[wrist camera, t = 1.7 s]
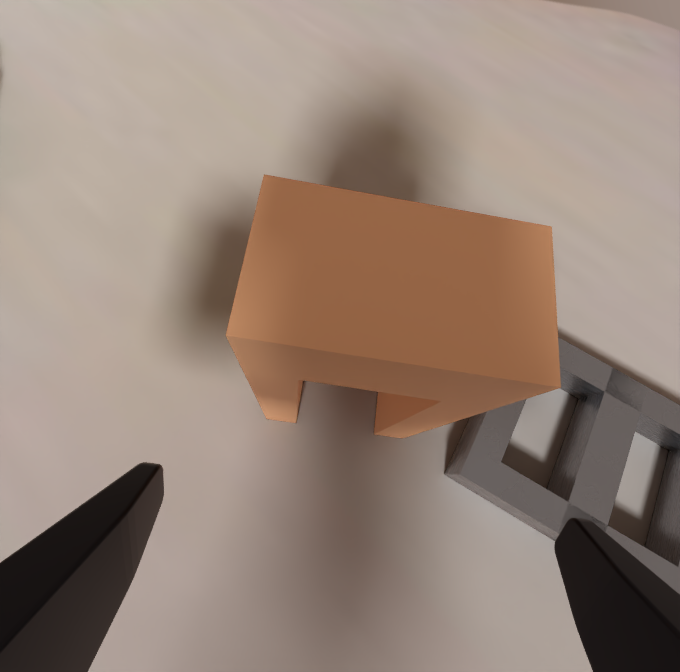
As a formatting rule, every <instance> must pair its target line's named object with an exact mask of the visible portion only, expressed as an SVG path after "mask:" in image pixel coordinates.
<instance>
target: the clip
mask: <svg viewBox="0 0 680 672" xmlns="http://www.w3.org/2000/svg"><path fill="white" fill-rule="evenodd" d="M226 337H227V339H228V341H229V343H230V345H231V347H232V349H233V351H234V353H235V355H236V357H237V359H238V362H239V364H240V366H241V368H242V370H243V372H244V374H245V376H246V378H247V380H248V382H249V384H250V386H251V388H252V390H253V392H254V394H255V396H256V398H257V400H258V402H259V404H260V406H261V408H262V410H263V412H264V414H265V416H266V419H271V420H278V421H285V422H292V423H296V421H297V415H298V409H299V403H300V397H301V391H302V385H303V380H304V381H310V382H317V383H324V384H330V385H337V386H344V387H350V388H357V389H363V390H370V391H377V392H378V397H377V407H376V417H375V427H374V434H375V435H382V436H389V437H396V438H405V437H408V436H412V435H415V434H418V433H421V432H424V431H427V430H430V429H433V428H437V427H440V426H443V425H446V424H449V423H452V422H455V421H458V420H461V419H465V418H468V417H471V416H474V415H477V414H480V413H483V412H486V411H490V410H493V409H496V408H499V407H502V406H505V405H508V404H511V403H515V402H518V401H521V400H524V399H527V398H530V397H533V396H536V395H539V394H543V393H546V392H549V391H552V390H555V389H558V388H561V380H560V362H559V345H558V328H557V310H556V293H555V276H554V259H553V241H552V227H551V226H545V225H540V224H534V223H529V222H523V221H518V220H512V219H507V218H501V217H496V216H490V215H485V214H479V213H474V212H468V211H463V210H457V209H452V208H446V207H441V206H435V205H430V204H424V203H419V202H413V201H408V200H402V199H396V198H391V197H385V196H380V195H374V194H369V193H363V192H358V191H352V190H347V189H341V188H336V187H330V186H325V185H319V184H314V183H308V182H303V181H297V180H292V179H286V178H281V177H275V176H270V175H264V177H263V181H262V185H261V189H260V193H259V198H258V202H257V206H256V210H255V214H254V219H253V223H252V227H251V231H250V235H249V239H248V244H247V248H246V252H245V256H244V260H243V265H242V269H241V273H240V277H239V281H238V286H237V290H236V294H235V298H234V302H233V307H232V311H231V315H230V319H229V323H228V327H227V332H226Z"/></svg>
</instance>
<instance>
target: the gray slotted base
mask: <svg viewBox="0 0 680 672" xmlns="http://www.w3.org/2000/svg"><path fill="white" fill-rule="evenodd" d="M558 345H559V362H560V380H561V389H562V390H564V391H566V392H568V393H569V394H571V395H573V396H575V397H576V398H578V402H577V405H576V407H575V410H574V413H573V416H572V419H571V422H570V424H569V427H568V430H567V433H566V436H565V439H564V441H563V444H562V447H561V450H560V453H559V456H558V458H557V461H556V464H555V467H554V470H553V473H552V475H551V478H550V481H549V484H548V487H547V489H546V488H544V487H542V486H541V485H539V484H537V483H535V482H534V481H532V480H530V479H529V478H527V477H525V476H524V475H522V474H520V473H519V472H517V471H515V470H514V469H512V468H510V467H508V466H507V465H505V464H503V463H502V462H501V461H502V458H503V456H504V453H505V451H506V448H507V446H508V443H509V441H510V438H511V436H512V433H513V431H514V428H515V426H516V423H517V421H518V418H519V416H520V413H521V411H522V408H523V406H524V404H525V401H526V399H524V400H521V401H518V402H515V403H511V404H508V405H505V406H502V407H499V408H496V409H493V410H490V411H486V412H483V413H480V414H477V415H474V416H471V417H470V418H469V421H468V423H467V425H466V427H465V430H464V432H463V434H462V436H461V438H460V441H459V443H458V445H457V447H456V450H455V452H454V454H453V456H452V458H451V461H450V463H449V465H448V467H447V470H446V472H445V475H446V476H448V477H450V478H451V479H453V480H455V481H456V482H458V483H460V484H461V485H463V486H465V487H466V488H468V489H470V490H471V491H473V492H475V493H476V494H478V495H480V496H481V497H483V498H485V499H486V500H488V501H490V502H491V503H493V504H495V505H496V506H498V507H500V508H501V509H503V510H505V511H506V512H508V513H509V514H511V515H513V516H514V517H516V518H518V519H519V520H521V521H523V522H524V523H526V524H528V525H529V526H531V527H533V528H534V529H536V530H538V531H539V532H541V533H543V534H544V535H546V536H548V537H549V538H551V539H553V540H554V541H556V539H557V537H558V535H559V534H560V532H561V530H562V529H563V527H564V525H565V524H566V522H567V521H568V519H570V518H582V519H588V520H590V521H592V522H594V523H595V524H596V525H597V526H598V527H600V528H601V529H602V530H603V531H604V532H606V533H607V534H608V535H609V536H610V537H612V538H613V539H614V540H615V541H616V542H618V543H619V544H620V545H621V546H622V547H624V548H625V549H626V550H627V551H628V552H630V553H631V554H632V555H633V556H634V557H636V558H637V559H638V560H639V561H640V562H642V563H643V564H644V565H645V566H646V567H648V568H649V569H650V570H651V571H652V572H654V573H655V574H656V575H657V576H658V577H660V578H661V579H662V580H663V581H664V582H666V583H667V584H668V585H669V586H670V587H672V588H673V589H674V590H675V591H676V592H678V593H679V594H680V405H679V404H677V403H675V402H673V401H671V400H670V399H668V398H666V397H664V396H663V395H661V394H659V393H657V392H655V391H654V390H652V389H650V388H648V387H646V386H645V385H643V384H641V383H639V382H638V381H636V380H634V379H632V378H630V377H629V376H627V375H625V374H623V373H622V372H620V371H618V370H616V369H614V368H613V367H611V366H609V365H607V364H605V363H604V362H602V361H600V360H598V359H597V358H595V357H593V356H591V355H589V354H588V353H586V352H584V351H582V350H581V349H579V348H577V347H575V346H573V345H572V344H570V343H568V342H566V341H564V340H563V339H561V338H559V337H558ZM635 431H636V432H638V433H640V434H641V435H643V436H645V437H647V438H648V439H650V440H652V441H654V442H655V443H657V444H659V445H661V446H662V447H664V448H666V449H668V450H669V454H668V458H667V461H666V465H665V469H664V473H663V477H662V481H661V485H660V489H659V493H658V497H657V501H656V505H655V509H654V513H653V517H652V521H651V525H650V529H649V533H648V537H647V541H646V545H645V547H643V546H642V545H640V544H638V543H637V542H635V541H633V540H632V539H630V538H628V537H627V536H625V535H623V534H621V533H620V532H618V531H616V530H615V529H613V528H611V527H610V526H608V523H609V519H610V516H611V512H612V509H613V506H614V502H615V499H616V495H617V492H618V488H619V485H620V481H621V478H622V474H623V471H624V468H625V464H626V461H627V457H628V454H629V450H630V447H631V443H632V440H633V436H634V433H635Z"/></svg>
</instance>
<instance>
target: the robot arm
mask: <svg viewBox="0 0 680 672" xmlns="http://www.w3.org/2000/svg"><path fill="white" fill-rule="evenodd" d="M163 496H164V481H163V467H162V466H161V465H160V464H154V463H147V462H143V463H140V464H138V465H137V466H135V467H134V468H133V469H131V470H130V471H128V472H127V473H126V474H124V475H123V476H121V477H120V478H119V479H117V480H116V481H114V482H113V483H111V484H110V485H109V486H107V487H106V488H104V489H103V490H102V491H100V492H99V493H97V494H96V495H95V496H93V497H92V498H90V499H89V500H88V501H86V502H85V503H83V504H82V505H81V506H79V507H78V508H76V509H75V510H74V511H72V512H71V513H69V514H68V515H67V516H65V517H64V518H62V519H61V520H60V521H58V522H57V523H55V524H54V525H53V526H51V527H50V528H48V529H47V530H46V531H44V532H43V533H41V534H40V535H39V536H37V537H36V538H34V539H33V540H31V541H30V542H29V543H27V544H26V545H24V546H23V547H22V548H20V549H19V550H17V551H16V552H15V553H13V554H12V555H10V556H9V557H8V558H6V559H5V560H3V561H2V562H1V563H0V672H88V670H89V668H90V666H91V664H92V662H93V660H94V658H95V656H96V654H97V652H98V650H99V648H100V646H101V644H102V642H103V640H104V638H105V636H106V634H107V632H108V630H109V627H110V625H111V623H112V621H113V619H114V617H115V615H116V613H117V611H118V609H119V607H120V605H121V603H122V601H123V599H124V597H125V595H126V593H127V591H128V589H129V587H130V585H131V582H132V580H133V578H134V576H135V573H136V571H137V568H138V566H139V563H140V560H141V558H142V555H143V552H144V550H145V547H146V544H147V541H148V539H149V536H150V533H151V531H152V528H153V525H154V523H155V520H156V517H157V515H158V512H159V509H160V507H161V504H162V501H163ZM555 554H556V557H557V561H558V565H559V568H560V572H561V575H562V579H563V582H564V586H565V589H566V593H567V596H568V600H569V604H570V607H571V611H572V614H573V617H574V621H575V624H576V627H577V630H578V633H579V635H580V638H581V641H582V644H583V646H584V649H585V652H586V654H587V657H588V660H589V662H590V665H591V667H592V670H593V672H680V594H679V593H678V592H676V591H675V590H674V589H673V588H672V587H670V586H669V585H668V584H667V583H666V582H664V581H663V580H662V579H661V578H660V577H658V576H657V575H656V574H655V573H654V572H652V571H651V570H650V569H649V568H648V567H646V566H645V565H644V564H643V563H642V562H640V561H639V560H638V559H637V558H636V557H634V556H633V555H632V554H631V553H630V552H628V551H627V550H626V549H625V548H624V547H622V546H621V545H620V544H619V543H618V542H616V541H615V540H614V539H613V538H612V537H610V536H609V535H608V534H607V533H606V532H604V531H603V530H602V529H601V528H600V527H598V526H597V525H596V524H595V523H594V522H592V521H590V520H588V519H582V518H570V519H568V521H567V522H566V524H565V525H564V527H563V529H562V530H561V532H560V534H559V535H558V537H557V539H556V541H555Z"/></svg>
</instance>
